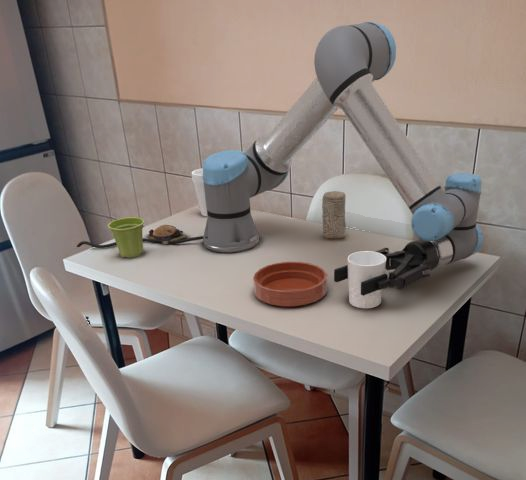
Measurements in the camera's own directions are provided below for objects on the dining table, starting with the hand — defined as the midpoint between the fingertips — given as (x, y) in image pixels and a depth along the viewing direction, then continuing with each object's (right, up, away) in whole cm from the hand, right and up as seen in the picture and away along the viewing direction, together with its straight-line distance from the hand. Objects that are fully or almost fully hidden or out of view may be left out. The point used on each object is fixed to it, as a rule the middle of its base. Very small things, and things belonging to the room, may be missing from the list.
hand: (348, 282), depth 117 cm
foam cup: (-34, +29, +64) cm, 78 cm away
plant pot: (-53, +12, +37) cm, 66 cm away
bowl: (-11, -1, +11) cm, 16 cm away
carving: (+2, +17, +40) cm, 43 cm away
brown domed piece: (-45, +18, +47) cm, 67 cm away
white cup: (+4, -4, +5) cm, 8 cm away
